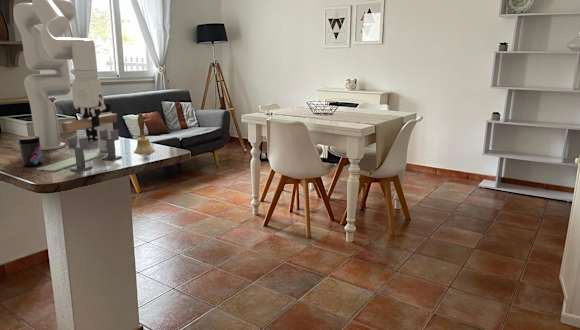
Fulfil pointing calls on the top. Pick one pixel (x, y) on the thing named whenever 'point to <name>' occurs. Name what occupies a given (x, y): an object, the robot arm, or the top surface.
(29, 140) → the supplement container
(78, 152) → the rack
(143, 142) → the hand bell
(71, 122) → the rail
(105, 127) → the travel mug
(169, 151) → the top surface
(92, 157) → the mat
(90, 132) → the white-spotted black cylinder
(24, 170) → the top surface
